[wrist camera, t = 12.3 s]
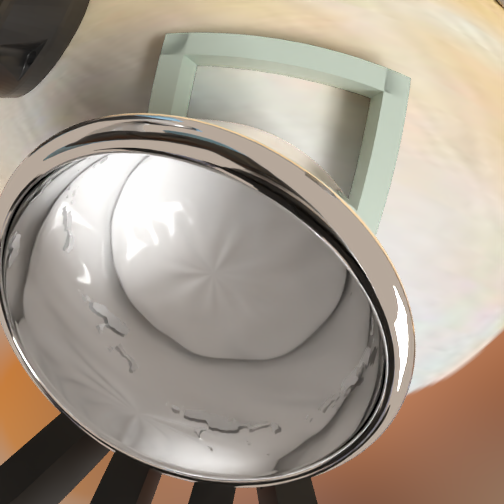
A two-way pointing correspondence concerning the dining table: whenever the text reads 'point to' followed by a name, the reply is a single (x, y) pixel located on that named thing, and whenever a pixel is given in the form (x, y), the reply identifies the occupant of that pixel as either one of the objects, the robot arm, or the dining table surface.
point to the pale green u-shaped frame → (304, 67)
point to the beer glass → (202, 299)
